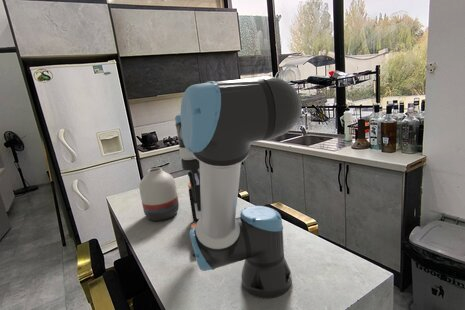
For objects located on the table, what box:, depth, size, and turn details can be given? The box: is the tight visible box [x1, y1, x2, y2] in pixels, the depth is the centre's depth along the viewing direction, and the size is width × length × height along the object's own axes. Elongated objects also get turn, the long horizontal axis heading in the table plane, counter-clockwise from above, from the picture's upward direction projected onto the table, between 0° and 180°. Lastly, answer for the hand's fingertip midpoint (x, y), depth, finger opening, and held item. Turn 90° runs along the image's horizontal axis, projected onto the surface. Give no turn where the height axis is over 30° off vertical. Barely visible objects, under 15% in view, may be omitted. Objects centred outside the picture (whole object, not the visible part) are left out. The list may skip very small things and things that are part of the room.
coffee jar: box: [187, 182, 199, 223], centre depth 127 cm, size 11×11×18 cm
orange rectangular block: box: [190, 223, 197, 230], centre depth 112 cm, size 3×6×3 cm, turn 108°
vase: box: [138, 167, 180, 222], centre depth 135 cm, size 17×17×24 cm
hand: (200, 217), depth 105 cm, fingers closed
